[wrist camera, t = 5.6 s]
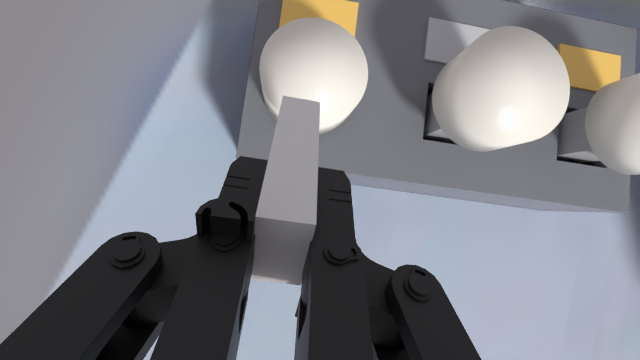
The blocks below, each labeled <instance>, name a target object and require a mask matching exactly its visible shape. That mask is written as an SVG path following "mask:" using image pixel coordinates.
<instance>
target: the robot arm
mask: <svg viewBox="0 0 640 360" xmlns="http://www.w3.org/2000/svg"><path fill="white" fill-rule="evenodd" d="M319 122H320V102H317V101H311V100H306V99H300V98H294V97H289V96H283V98H282V102H281V106H280V111H279V115H278V119H277V124H276V128H275V132H274V137H273V141H272V146H271V150H270V154H269V159H268V160H264V159H257V158H251V157H244V156H240V157H239V158H238V159H236V160H235V161H234V162H233V163H232V164H231V165H230V168H229V171H228V173H227V177H226V179H225V181H224V184H223V187H222V190H221V192H220V195H219V198H217V199H213V200H210V201H208V202H206V203H205V204H203V205H202V206H200V208H199V209H198V211H197V212H196V213H195V215H196V226H197V234H196V235H194V236H192V237H189V238H186V239H182V240H176V241H169V242H162V243H158V241H157V239H156V238H155V237H153V236H151V235H150V234H148V233H143V232H128V233H123V234H120V235H118V236H115V237H113V238H111V239H109V240H108V241H107V242H105V243H104V244H103V245H101V246H100V247H99V248H98V249H97V250H96V251H95V252H94V253H93V254H92V255H91V256H90V257H89V258H88V259H87V260H86V261H85V262H84V263H83V264H82V265H81V266H80V267H79V268H78V269H77V270H76V271H75V272H74V273H73V274H72V275H71V276H70V277H69V278H68V279H67V280H66V281H65V282H64V283H63V284H62V285H60V286H59V287H58V288H57V289H56V290H55V291H54V292H53V293H52V294H51V295H50V296H49V297H48V298H47V299H46V300H45V301H44V302H43V303H42V304H41V305H40V306H39V307H38V308H37V309H36V310H35V311H34V312H33V313H32V314H31V315H30V316H29V317H28V318H27V319H26V320H25V321H24V322H23V323H22V324H21V325H20V326H19V327H18V328H17V329H16V330H15V331H14V332H12V333H11V334H10V336H8V338H6V339H5V340H4V341H3V342H2V343H1V344H0V360H143V359H144V357H145V356H146V354H147V353H148V351H149V350H150V348H151V347H152V345H153V344H154V342H155V341H156V339H157V337H158V336H159V338H158V340H157V343H156V346H155V348H154V351H153V353H152V356H151V358H150V360H236V355H237V350H238V345H239V340H240V335H241V330H242V325H243V320H244V315H245V310H246V305H247V300H248V289H249V284H250V279H251V280H260V281H269V282H278V283H287V284H295V285H301V282H302V287H301V296H300V299H299V303H298V307H297V310H296V314H295V317H297V329H296V343H295V357H294V360H481V358H480V356H479V354H478V353H477V351H476V349H475V347H474V345H473V343H472V342H471V340H470V338H469V336H468V334H467V332H466V330H465V329H464V327H463V325H462V323H461V321H460V319H459V318H458V316H457V314H456V312H455V310H454V308H453V307H452V305H451V303H450V301H449V299H448V297H447V295H446V294H445V292H444V290H443V288H442V286H441V284H440V283H439V282H438V280H437V279H436V278H435V276H434V275H432V274H431V273H430V272H428V271H427V270H426V269H424V268H421V267H419V266H416V265H403V266H400V267H398V268H397V269H396V270H395V271H394V270H391V269H389V268H387V267H384V266H382V265H380V264H377V263H375V262H373V261H372V260H370V259H369V258H367V257H366V256H365V255H364V254H363V253H362V252H361V249H360V248H359V247H358V245H357V243H356V239H355V230H354V219H353V207H352V196H351V184H350V180H349V179H348V177H347V175H346V174H345V172H344V171H342V170H335V169H329V168H322V167H318V154H319ZM159 334H160V335H159Z"/></svg>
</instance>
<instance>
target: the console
mask: <svg viewBox="0 0 640 360" xmlns="http://www.w3.org/2000/svg"><path fill="white" fill-rule="evenodd" d="M308 17H312V18H322V19H326V20H329V21H332V22H334V23H336V24H338V25H340V26H342V27H343V28H345V29H346V30H347V31H348V32H350V33H351V34H352V35H353V36H354V38H355V39H356V40H357V41H358V43H359V44H360V46H361V48H362V50H363V52H364V54H365V57H366V61H367V65H368V81H367V86H366V89H365V92H364V94H363V97H362V99H361V100H360V102H359V103H358V105H357V106H356V107H355V108H354V110H353V111H352V112H351V113H350V115H349V116H348V117H347V118H346V120H345V121H344V122H343V123H342V124H341V125H339V126H338V127H337V128H335V129H334V130H332V131H329V132H327V133H324V134H320V135H319V154H318V167H322V168H329V169H335V170H342V171H344V172H345V174H346V175H347V177H348V179H349V180H350V184H352V185H359V186H366V187H374V188H381V189H388V190H396V191H403V192H410V193H418V194H425V195H432V196H439V197H447V198H454V199H461V200H469V201H476V202H483V203H490V204H498V205H505V206H512V207H520V208H527V209H534V210H544V211H578V212H611V213H629V201H630V179H631V175H625V174H621V173H618V172H615V171H613V170H611V169H609V168H608V167H607V166H605V165H604V164H603V163H602V162H601V161H593V162H585V163H578V164H576V163H570V162H564V161H557V146H558V131H559V124H558V125H557V126H556V127H555V128H554V129H553V130H552V131H551V132H550V133H548V134H547V135H545V136H543V137H542V138H540V139H537V140H534V141H530V142H526V143H522V144H518V145H514V146H510V147H505V148H501V149H497V150H493V151H488V152H478V151H472V150H468V149H466V148H463V147H461V146H459V145H455V144H449V143H443V142H436V141H430V140H423V132H424V122H425V112H426V102H427V93H428V89H433V87H434V83H435V80H436V78H437V76H438V74H439V73H440V71H441V70H442V69H443V67H444V66H445V65H446V64H447V63H448V62H450V61H451V60H452V59H453V58H454V57H456V56H457V55H458V54H459V53H460V52H462V51H463V50H464V49H465V48H466V47H468V46H469V45H470V44H471V43H472V42H474V41H475V40H476V39H477V38H478V37H480V36H481V35H482V34H484V33H486V32H487V31H490V30H492V29H494V28H498V27H503V26H517V27H523V28H526V29H529V30H532V31H534V32H536V33H538V34H539V35H541V36H542V37H544V38H545V39H546V40H547V41H549V42H550V43H551V44H552V45H553V47H554V48H555V49H556V50H557V51H558V53H559V55H560V56H561V58H562V60H563V62H564V64H565V66H566V69H567V72H568V76H569V83H570V96H569V102H568V106H567V109H566V112H565V114H566V113H569V112H573V111H576V110H579V109H582V108H586V107H588V105H589V102H590V101H591V99H592V97H593V96H594V95H595V93H596V92H597V91H598V90H599V89H601V88H602V87H603V86H605V85H607V84H609V83H612V82H615V81H618V80H620V79H623V78H626V77H629V76H631V75H634V74H635V70H636V48H637V29H635V28H630V27H626V26H621V25H616V24H612V23H607V22H602V21H598V20H593V19H588V18H584V17H579V16H574V15H570V14H565V13H560V12H556V11H551V10H546V9H542V8H537V7H532V6H528V5H523V4H518V3H514V2H509V1H504V0H260V1H259V7H258V14H257V21H256V27H255V34H254V40H253V47H252V54H251V60H250V67H249V74H248V80H247V87H246V94H245V100H244V107H243V114H242V120H241V127H240V134H239V140H238V147H237V154H236V158H237V159H238V158H239V157H240V156H244V157H251V158H257V159H264V160H268V159H269V154H270V150H271V146H272V141H273V137H274V132H275V128H276V124H277V121H276V120H275V119H274V118H273V116H272V115H271V114H270V112H269V110H268V108H267V106H266V104H265V101H264V97H263V92H262V85H261V79H260V70H259V66H260V58H261V54H262V51H263V48H264V46H265V44H266V42H267V41H268V39H269V38H270V36H271V35H272V34H273V33H274V32H275V31H276V30H277V29H279V28H280V27H281V26H283V25H285V24H286V23H288V22H291V21H293V20H296V19H300V18H308Z"/></svg>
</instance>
